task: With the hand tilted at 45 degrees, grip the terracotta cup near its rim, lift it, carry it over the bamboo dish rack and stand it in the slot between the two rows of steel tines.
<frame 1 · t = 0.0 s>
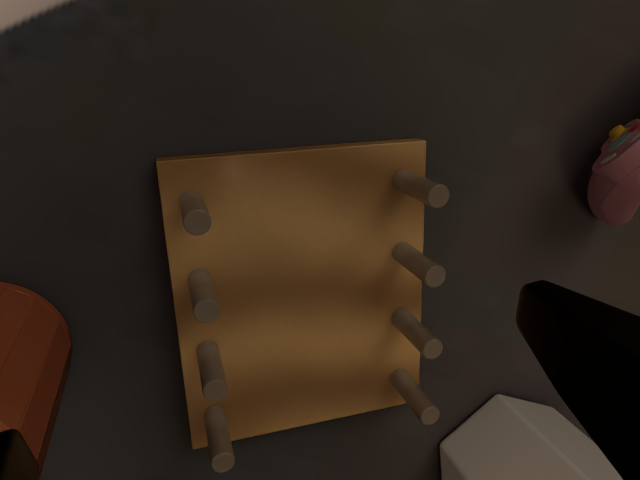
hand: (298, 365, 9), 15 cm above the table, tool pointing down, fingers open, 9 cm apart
dish rack: (301, 290, 26), on the table
video game controller: (630, 127, 29), on the table
jar: (494, 450, 34), on the table
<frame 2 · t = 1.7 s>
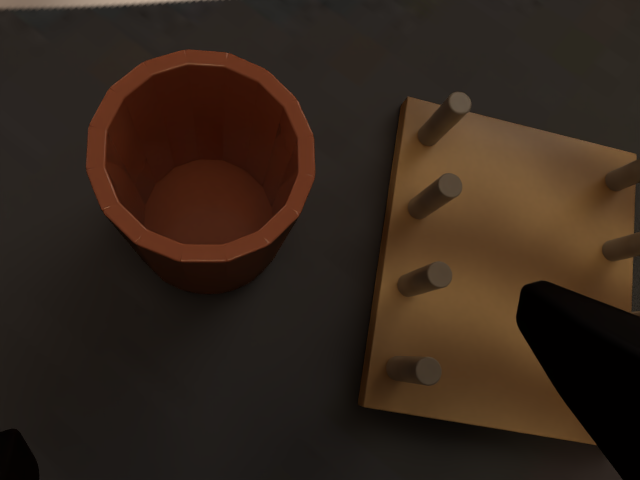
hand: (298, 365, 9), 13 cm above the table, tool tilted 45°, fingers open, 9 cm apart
dish rack: (502, 270, 25), on the table
cup: (209, 222, 23), on the table
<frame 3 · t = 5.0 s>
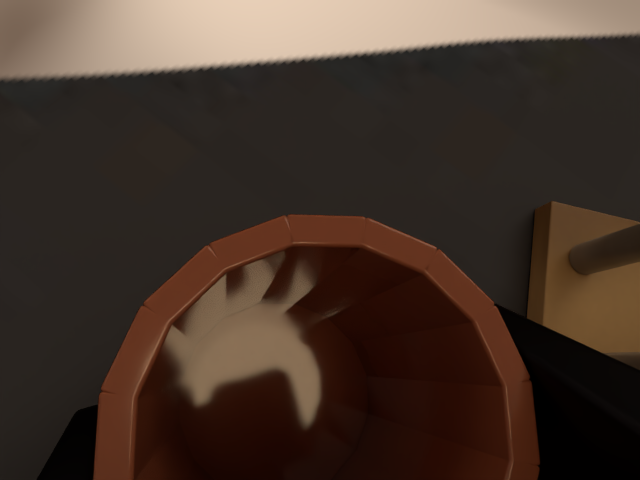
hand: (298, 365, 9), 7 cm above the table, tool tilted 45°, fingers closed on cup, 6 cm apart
cup: (274, 396, 16), on the table, touching gripper
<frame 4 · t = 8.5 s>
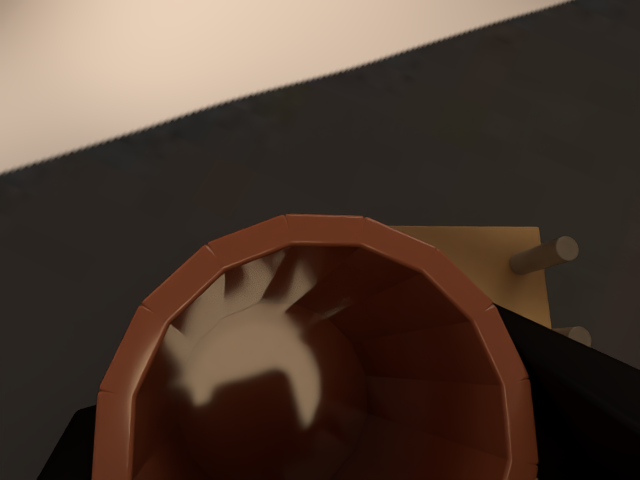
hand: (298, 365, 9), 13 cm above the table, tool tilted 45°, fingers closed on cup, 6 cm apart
dish rack: (419, 388, 23), on the table
cup: (273, 396, 16), point 7 cm above the table, touching gripper
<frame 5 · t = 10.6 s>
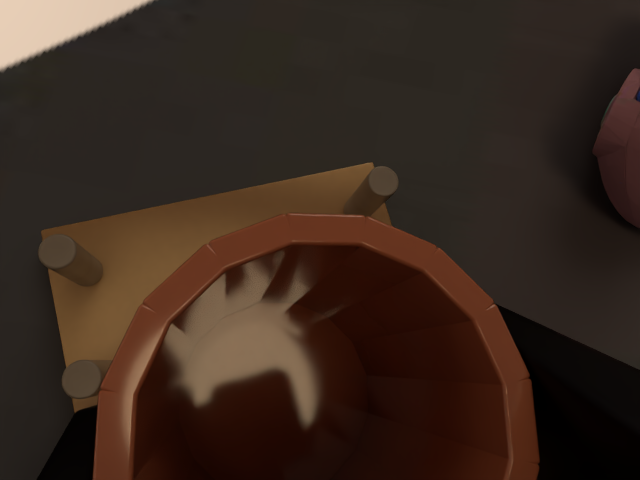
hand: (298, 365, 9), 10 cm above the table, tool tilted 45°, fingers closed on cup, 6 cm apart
dish rack: (264, 386, 19), on the table
video game controller: (628, 124, 25), on the table
cup: (274, 395, 16), point 4 cm above the table, touching gripper
when the fingers open (8 cm above the table, at t = 12.0 s): cup stays where it is, resting on dish rack.
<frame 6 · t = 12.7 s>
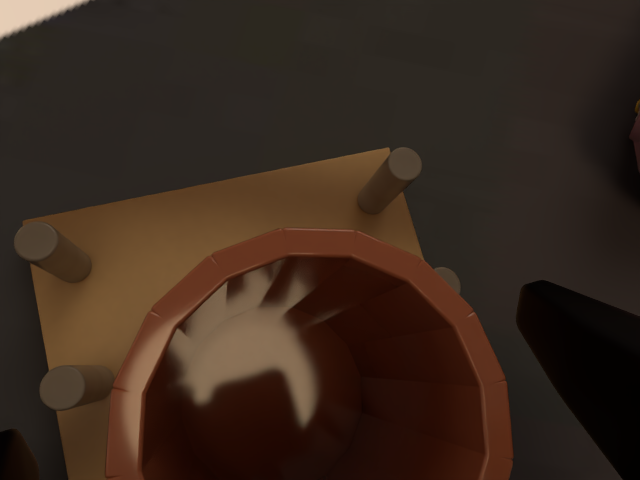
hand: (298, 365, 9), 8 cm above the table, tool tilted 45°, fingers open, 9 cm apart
dish rack: (270, 394, 17), on the table
cup: (272, 395, 16), point 1 cm above the table, touching dish rack
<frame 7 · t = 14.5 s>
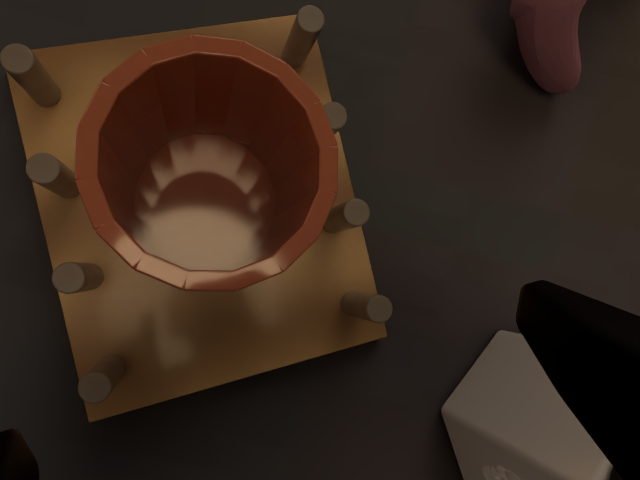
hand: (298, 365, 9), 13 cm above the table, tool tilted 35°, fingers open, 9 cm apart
dish rack: (206, 207, 22), on the table
jar: (524, 420, 25), on the table
cup: (206, 204, 21), point 1 cm above the table, touching dish rack
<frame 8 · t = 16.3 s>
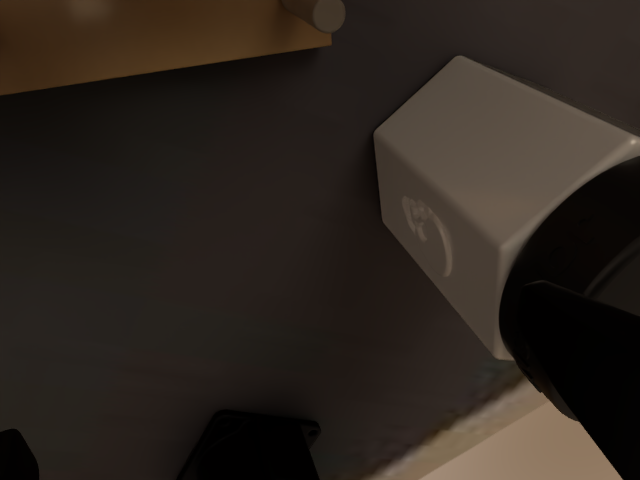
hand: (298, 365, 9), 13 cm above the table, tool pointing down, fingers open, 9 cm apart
jar: (453, 151, 24), on the table
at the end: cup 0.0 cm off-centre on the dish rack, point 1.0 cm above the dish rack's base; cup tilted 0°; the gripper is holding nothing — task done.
